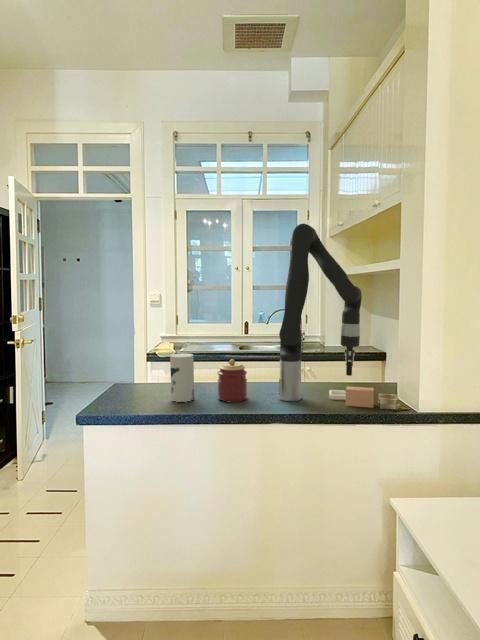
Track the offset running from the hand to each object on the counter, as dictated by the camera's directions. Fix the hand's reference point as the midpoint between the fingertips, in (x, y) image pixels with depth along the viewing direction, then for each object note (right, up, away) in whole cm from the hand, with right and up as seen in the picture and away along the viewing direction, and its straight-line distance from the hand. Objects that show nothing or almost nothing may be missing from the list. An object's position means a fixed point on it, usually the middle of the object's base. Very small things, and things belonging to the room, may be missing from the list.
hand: (348, 373), depth 178 cm
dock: (+16, -13, -2) cm, 21 cm away
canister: (-48, -13, +12) cm, 51 cm away
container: (-70, -13, +11) cm, 72 cm away
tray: (+2, -12, +11) cm, 17 cm away
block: (+4, -13, 0) cm, 14 cm away
